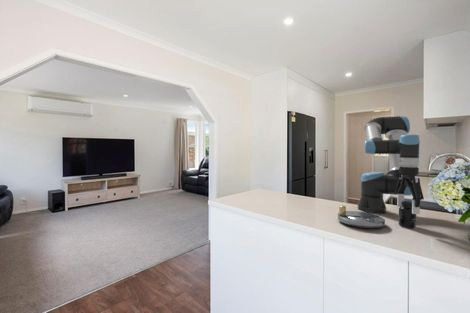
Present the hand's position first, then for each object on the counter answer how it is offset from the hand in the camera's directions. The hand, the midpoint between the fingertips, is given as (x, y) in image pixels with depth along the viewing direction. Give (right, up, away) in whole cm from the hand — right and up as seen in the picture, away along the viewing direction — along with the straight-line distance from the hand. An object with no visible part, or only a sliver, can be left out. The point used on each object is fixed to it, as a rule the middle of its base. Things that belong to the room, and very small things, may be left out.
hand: (407, 210), depth 109 cm
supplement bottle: (0, -8, +1) cm, 8 cm away
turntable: (-20, -7, +5) cm, 22 cm away
